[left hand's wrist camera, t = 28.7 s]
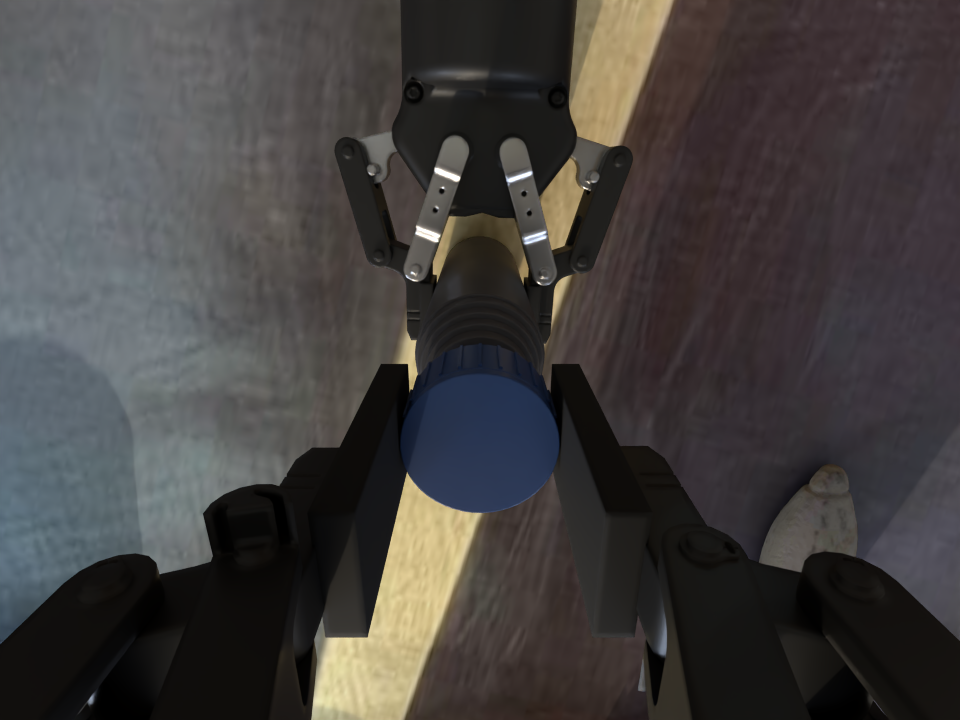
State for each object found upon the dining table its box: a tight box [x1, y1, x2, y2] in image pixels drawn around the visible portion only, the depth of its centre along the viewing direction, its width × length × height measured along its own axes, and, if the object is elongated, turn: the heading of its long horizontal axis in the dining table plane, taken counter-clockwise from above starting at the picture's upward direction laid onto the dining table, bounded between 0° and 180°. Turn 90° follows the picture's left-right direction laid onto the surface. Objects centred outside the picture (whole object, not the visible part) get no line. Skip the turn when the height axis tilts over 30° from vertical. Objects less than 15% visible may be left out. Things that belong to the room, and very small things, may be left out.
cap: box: [400, 343, 560, 513], centre depth 14 cm, size 4×4×2 cm
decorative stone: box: [759, 464, 858, 572], centre depth 38 cm, size 6×16×3 cm, turn 0°
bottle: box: [415, 237, 545, 375], centre depth 23 cm, size 5×5×20 cm
